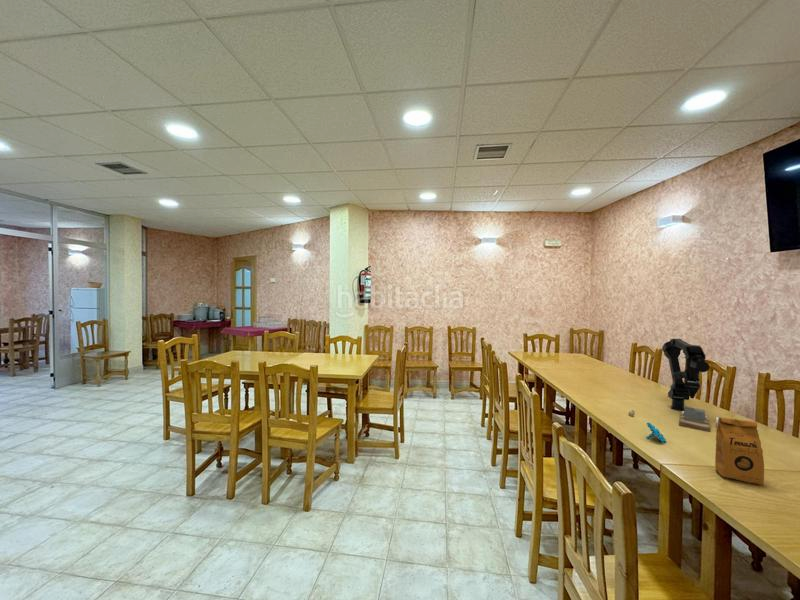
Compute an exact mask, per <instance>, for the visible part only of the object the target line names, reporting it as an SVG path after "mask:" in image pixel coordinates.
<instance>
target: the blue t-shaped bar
mask: <svg viewBox="0 0 800 600" xmlns="http://www.w3.org/2000/svg"><path fill="white" fill-rule="evenodd" d="M646 425H647V428H649V431H651V433H649V435H647V436H645V437H646V439H647V440H649V439H650V438H652V437H657V439H658V440H659V441H661V442H662V443H663V444H665V443H667V439H666V438H665V437H664V435H663V434H662V433H661V432H660V430H659V429H658V428H656V427H655V425H653V424H652V423H651V422H647V423H646Z"/></svg>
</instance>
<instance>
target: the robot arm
mask: <svg viewBox="0 0 800 600" xmlns="http://www.w3.org/2000/svg"><path fill="white" fill-rule="evenodd" d="M661 350H662V352H663V355H664V356H665V357H666V358H667V359H668V364H669V369H670V373H671V375H670V376H671V378H672V379H671V380H672V383H671V385H670V389H669V391H668V393H667V397H668V398H670V399H671V406H670V409H671V410H677V411H681V412H682V411H684V407H685V401H690V399H694V398H695V397H696V395H697V393H698V392H699V390H700V388H701V383H700V373H706V372H708V371H709V370H710V364H709V363H708V362H707V361H706V357H707V356H706V354H705V352H704V350H703V348H702V347H701V346H700V345H696V344H691V343H688V342H687V341H684V340H683V339H681V338H671V339H670V340H669V341H666V342H665V343H664V344H663V345H662V348H661ZM681 351H682V354H684V359H685V368H684V371H682V370H681V364H680V359H679V357H680V356H681ZM683 379H684V380H683Z"/></svg>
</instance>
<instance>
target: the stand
mask: <svg viewBox="0 0 800 600" xmlns="http://www.w3.org/2000/svg"><path fill="white" fill-rule="evenodd" d="M678 417H679V418H678V426H679V427H683V428H687V429H693V430H698V431H702V432H706V433H707V432H709V433H711V424H710V420H709V419H707V420H705V424H700V423H695V422H690V421H685V420H684V416H683V415H682V414H679V416H678Z"/></svg>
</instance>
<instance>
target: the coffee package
mask: <svg viewBox="0 0 800 600" xmlns="http://www.w3.org/2000/svg"><path fill="white" fill-rule="evenodd" d="M718 417H719V419H718V426H717V428H716V434H715V435H716V437H715V454H714V455H715V458H714V460H715V461H714V462H715V464H714V465H715V467H714V468H715V470H716V472H717V473H718V474H719V475H720V476H722V477H724V478H727V479H731V480H737V481H741V482H744V483H745V482H746V483H750V484H755V485H759V486H762V485H763V483H765V461H764V455H763V454H764V452H763V451H764V450H763V448H762V443H761V439H760V435H759V431H758V428H757V427H758V421H751V420H743V419H737V418H730V417H724V418H722V417H723V416H718Z"/></svg>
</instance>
